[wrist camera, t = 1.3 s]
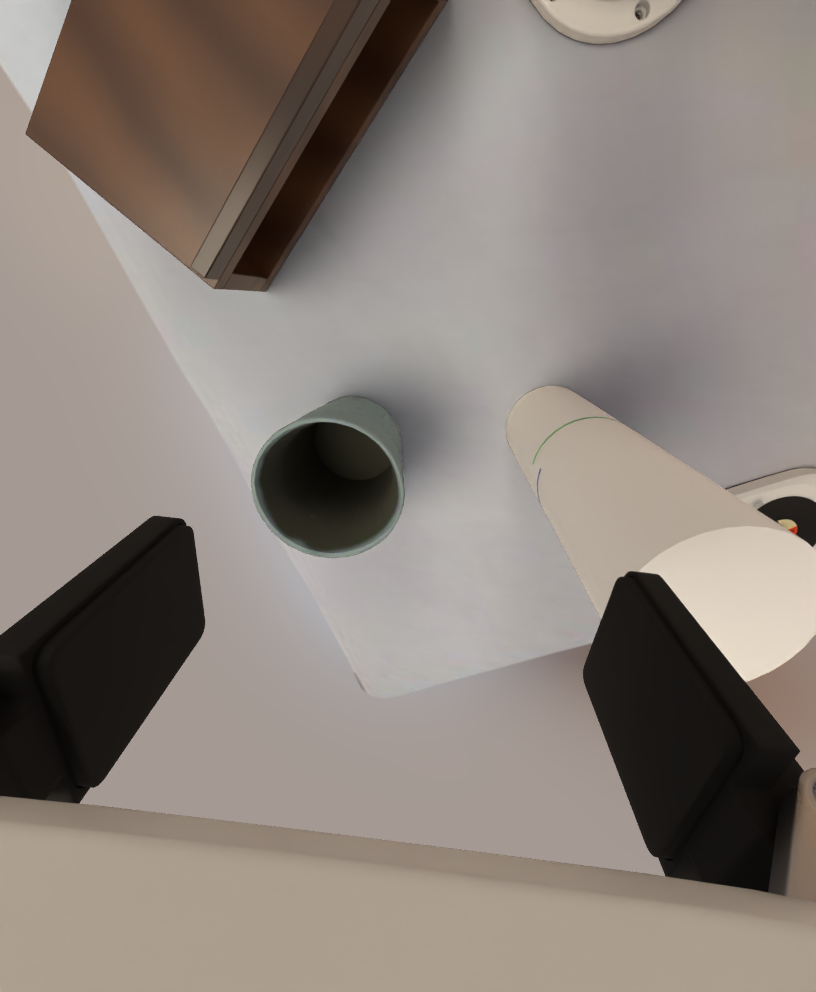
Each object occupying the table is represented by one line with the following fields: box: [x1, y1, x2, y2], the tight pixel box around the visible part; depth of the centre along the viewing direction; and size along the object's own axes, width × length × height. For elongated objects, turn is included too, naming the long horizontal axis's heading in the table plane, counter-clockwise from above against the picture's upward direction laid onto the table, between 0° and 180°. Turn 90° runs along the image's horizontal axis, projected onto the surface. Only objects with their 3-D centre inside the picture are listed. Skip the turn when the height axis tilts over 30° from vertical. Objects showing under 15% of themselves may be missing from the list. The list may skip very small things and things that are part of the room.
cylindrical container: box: [506, 386, 816, 682], centre depth 27 cm, size 7×7×25 cm
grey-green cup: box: [251, 396, 405, 558], centre depth 34 cm, size 10×10×12 cm
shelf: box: [26, 0, 447, 292], centre depth 25 cm, size 22×12×11 cm, turn 140°
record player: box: [727, 468, 816, 550], centre depth 40 cm, size 12×3×20 cm
